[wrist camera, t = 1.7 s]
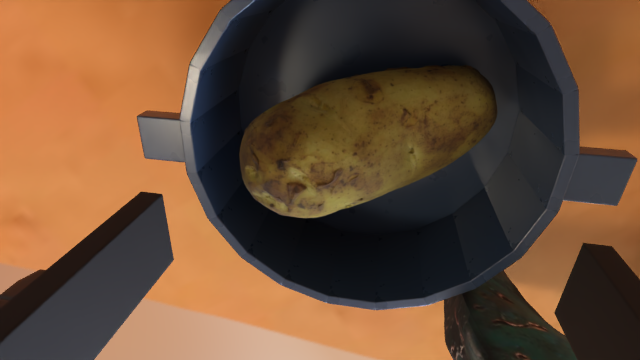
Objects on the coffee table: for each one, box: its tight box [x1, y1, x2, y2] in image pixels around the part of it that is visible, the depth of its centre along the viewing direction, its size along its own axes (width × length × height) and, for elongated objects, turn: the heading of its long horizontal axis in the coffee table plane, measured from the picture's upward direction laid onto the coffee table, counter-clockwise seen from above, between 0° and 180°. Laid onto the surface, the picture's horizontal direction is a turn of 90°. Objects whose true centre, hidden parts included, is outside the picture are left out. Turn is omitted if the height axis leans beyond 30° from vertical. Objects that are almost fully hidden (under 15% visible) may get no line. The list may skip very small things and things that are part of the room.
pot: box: [137, 0, 637, 310], centre depth 21 cm, size 18×23×7 cm
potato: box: [239, 65, 498, 218], centre depth 21 cm, size 8×13×8 cm, turn 88°
